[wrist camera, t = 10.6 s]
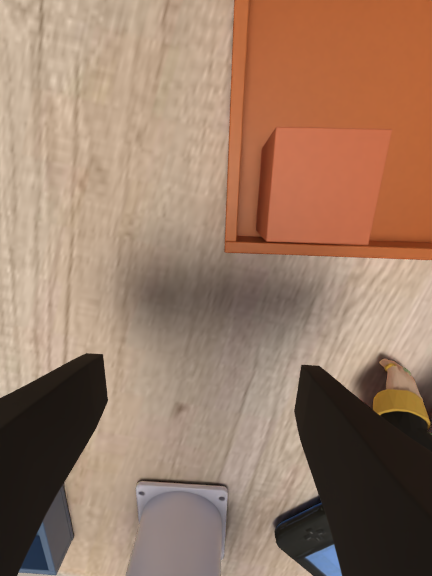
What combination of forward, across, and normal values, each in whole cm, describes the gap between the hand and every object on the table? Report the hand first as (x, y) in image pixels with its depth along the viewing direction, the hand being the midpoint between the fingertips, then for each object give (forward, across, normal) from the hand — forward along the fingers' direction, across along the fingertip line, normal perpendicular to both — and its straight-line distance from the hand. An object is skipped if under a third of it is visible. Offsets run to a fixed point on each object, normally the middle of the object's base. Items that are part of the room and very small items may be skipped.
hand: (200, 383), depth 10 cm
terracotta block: (+8, -5, -7) cm, 12 cm away
